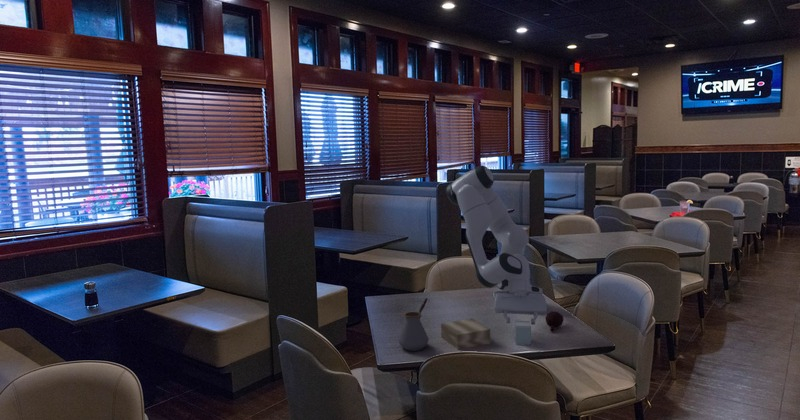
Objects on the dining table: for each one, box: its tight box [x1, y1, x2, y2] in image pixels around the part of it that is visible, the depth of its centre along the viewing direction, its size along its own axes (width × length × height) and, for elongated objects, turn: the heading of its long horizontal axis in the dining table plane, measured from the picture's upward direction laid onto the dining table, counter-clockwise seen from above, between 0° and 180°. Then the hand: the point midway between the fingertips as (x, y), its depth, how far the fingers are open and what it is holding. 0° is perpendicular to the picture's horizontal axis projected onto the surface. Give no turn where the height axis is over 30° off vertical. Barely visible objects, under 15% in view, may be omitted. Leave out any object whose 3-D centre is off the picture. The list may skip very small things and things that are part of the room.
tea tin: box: [514, 320, 532, 345], centre depth 208 cm, size 6×6×8 cm
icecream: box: [544, 310, 564, 333], centre depth 223 cm, size 7×7×15 cm
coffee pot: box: [398, 297, 431, 352], centre depth 210 cm, size 21×12×15 cm, turn 156°
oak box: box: [440, 318, 491, 350], centre depth 211 cm, size 14×14×6 cm
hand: (520, 323), depth 209 cm, fingers open, 8 cm apart
